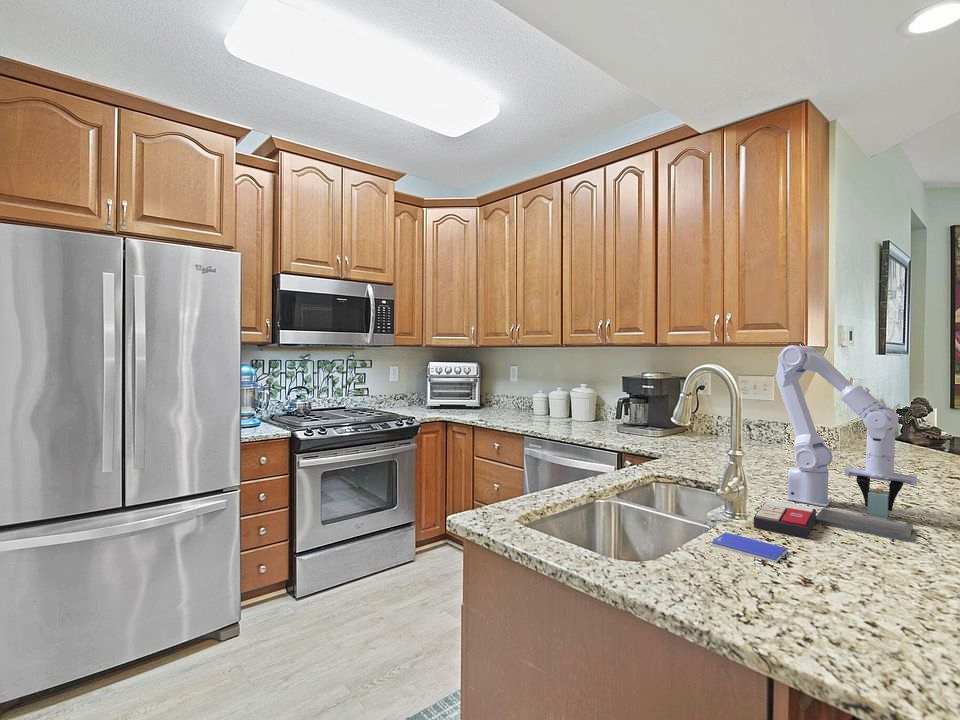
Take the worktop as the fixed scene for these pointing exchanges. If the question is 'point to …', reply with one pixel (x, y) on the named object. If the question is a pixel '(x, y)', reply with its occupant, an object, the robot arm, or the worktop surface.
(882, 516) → the block
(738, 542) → the hard drive
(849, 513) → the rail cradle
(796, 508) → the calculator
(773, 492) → the worktop surface
